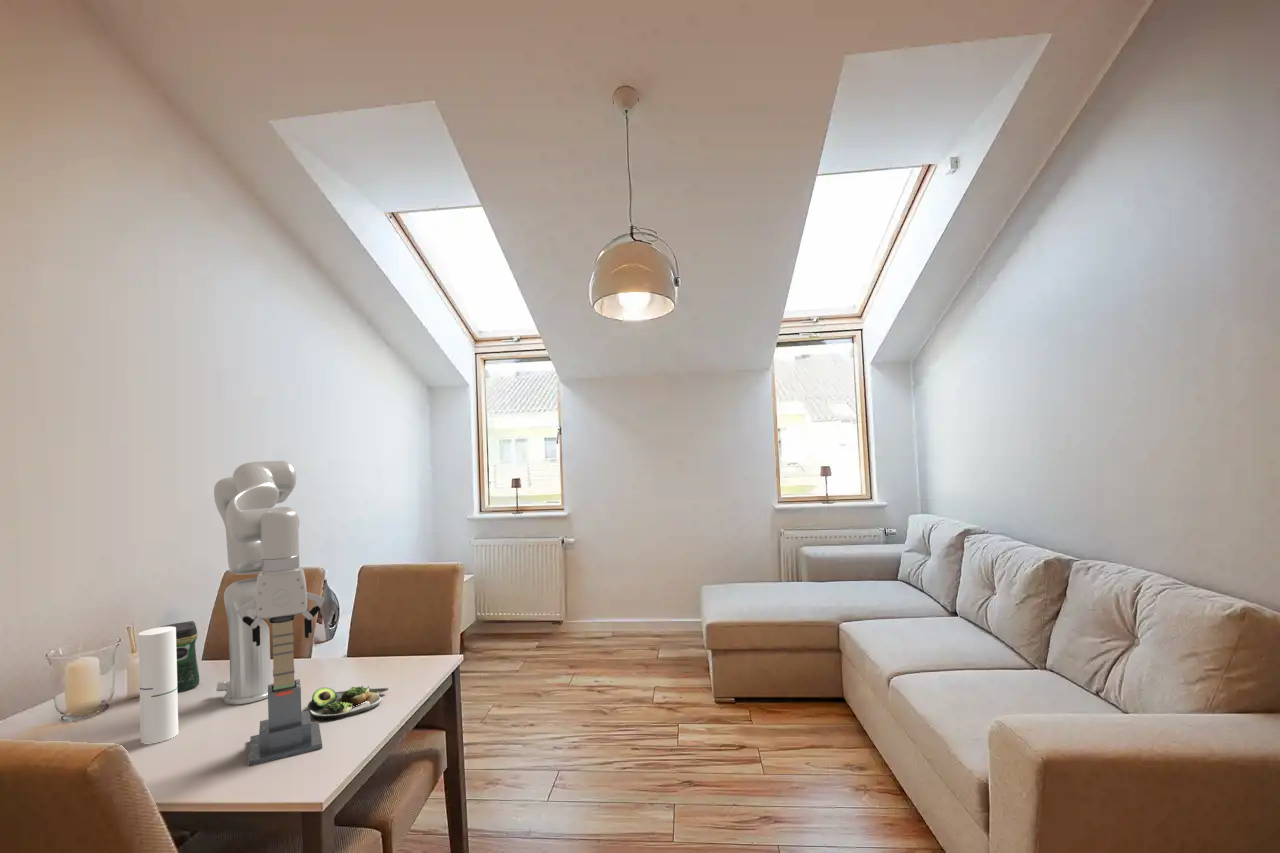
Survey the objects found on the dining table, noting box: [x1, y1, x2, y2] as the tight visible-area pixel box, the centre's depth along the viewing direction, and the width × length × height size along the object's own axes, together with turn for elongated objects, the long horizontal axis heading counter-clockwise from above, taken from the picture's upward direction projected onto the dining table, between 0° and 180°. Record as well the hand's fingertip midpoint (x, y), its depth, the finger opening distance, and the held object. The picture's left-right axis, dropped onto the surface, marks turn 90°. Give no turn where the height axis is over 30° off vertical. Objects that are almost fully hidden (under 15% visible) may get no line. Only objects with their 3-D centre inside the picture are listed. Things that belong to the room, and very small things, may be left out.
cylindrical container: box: [137, 626, 179, 744], centre depth 153 cm, size 7×7×25 cm
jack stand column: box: [268, 615, 296, 692], centre depth 147 cm, size 5×5×22 cm
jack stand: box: [248, 679, 323, 767], centre depth 147 cm, size 14×14×13 cm
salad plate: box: [307, 685, 389, 721], centre depth 169 cm, size 19×18×5 cm
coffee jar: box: [160, 620, 200, 693], centre depth 185 cm, size 10×8×19 cm
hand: (282, 640), depth 147 cm, fingers open, 9 cm apart
